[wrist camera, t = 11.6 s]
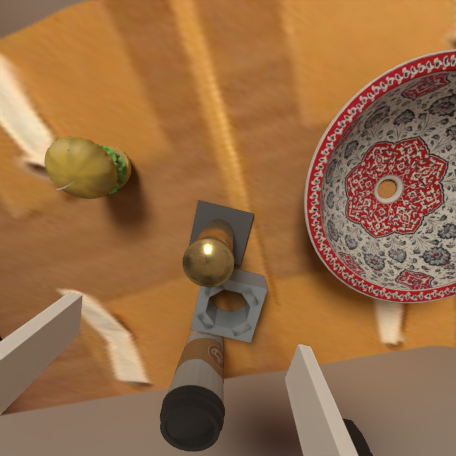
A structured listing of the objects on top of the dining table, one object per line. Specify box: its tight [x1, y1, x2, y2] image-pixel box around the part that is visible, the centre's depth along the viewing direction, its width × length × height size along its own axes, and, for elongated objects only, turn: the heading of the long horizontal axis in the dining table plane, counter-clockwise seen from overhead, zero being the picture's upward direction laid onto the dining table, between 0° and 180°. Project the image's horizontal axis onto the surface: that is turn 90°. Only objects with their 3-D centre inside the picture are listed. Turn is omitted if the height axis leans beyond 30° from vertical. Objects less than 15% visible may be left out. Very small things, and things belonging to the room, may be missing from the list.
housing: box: [191, 269, 267, 343], centre depth 36 cm, size 10×10×4 cm
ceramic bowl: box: [304, 49, 456, 303], centre depth 29 cm, size 29×29×8 cm
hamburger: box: [45, 136, 131, 199], centre depth 28 cm, size 8×7×12 cm
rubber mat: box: [189, 200, 254, 266], centre depth 36 cm, size 9×9×1 cm
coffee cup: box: [160, 330, 225, 451], centre depth 34 cm, size 8×8×15 cm
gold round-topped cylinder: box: [183, 219, 234, 287], centre depth 29 cm, size 6×6×12 cm
